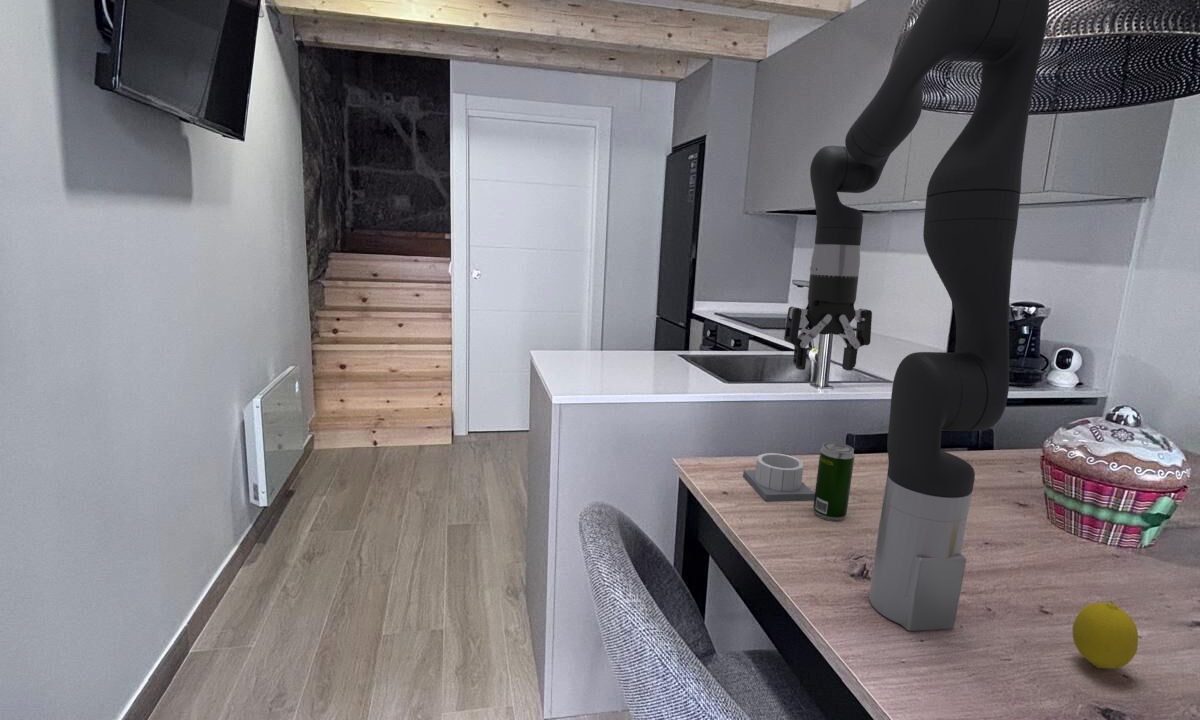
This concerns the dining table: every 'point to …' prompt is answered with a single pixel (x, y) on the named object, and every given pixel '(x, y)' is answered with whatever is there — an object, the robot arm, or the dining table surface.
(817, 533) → the dining table surface
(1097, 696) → the dining table surface
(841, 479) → the beer can
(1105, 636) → the lemon
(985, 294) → the robot arm
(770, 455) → the flanged pipe fitting
